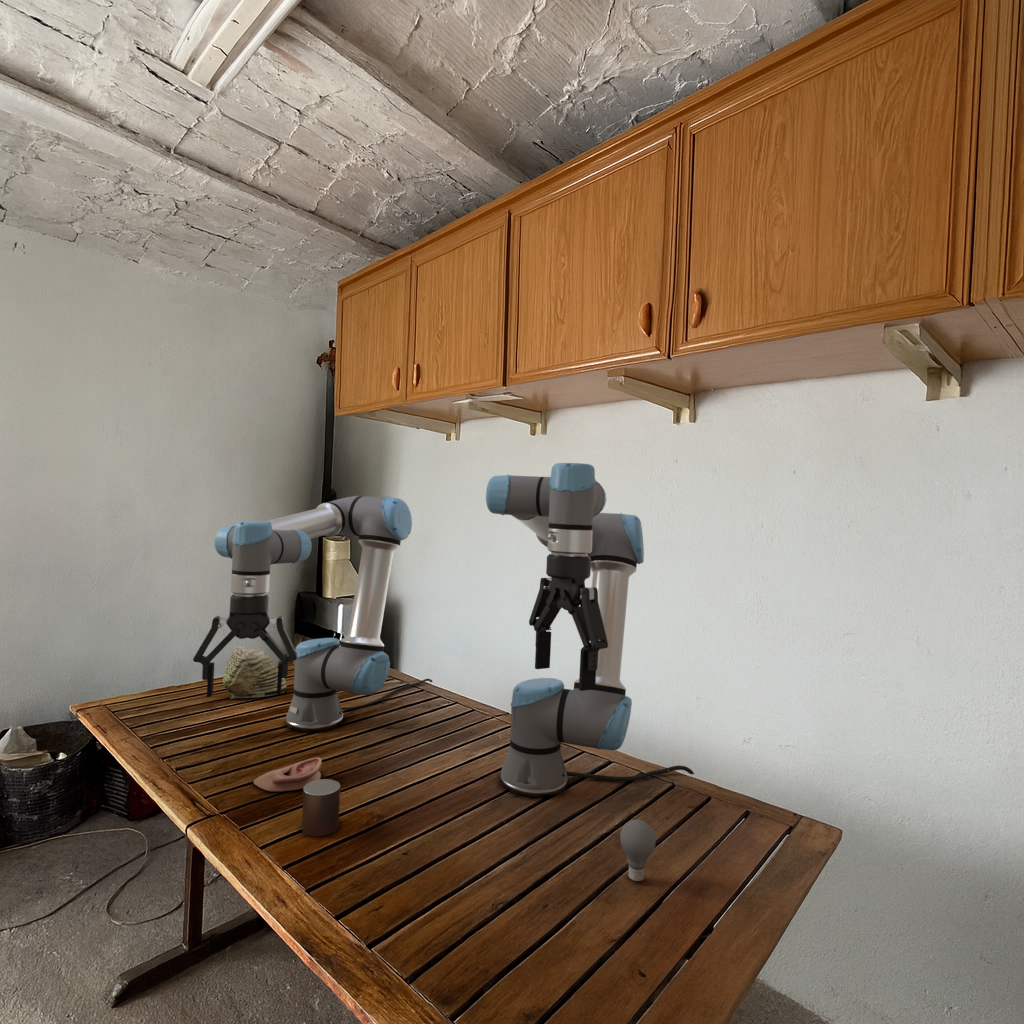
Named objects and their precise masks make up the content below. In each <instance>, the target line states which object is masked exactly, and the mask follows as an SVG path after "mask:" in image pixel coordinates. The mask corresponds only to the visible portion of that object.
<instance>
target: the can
mask: <svg viewBox="0 0 1024 1024" xmlns="http://www.w3.org/2000/svg"><path fill="white" fill-rule="evenodd" d="M302 789H303V791H302V817H301V832H302V833H303V834H304V835H305V836H309V837H313V838H314V837H316V838H317V837H325V836H329V835H331V834H333V833H335V832H337V830H338V829H339V826H340V801H341V784H340V782H338V781H337V780H334V779H330V778H329V779H328V778H320V779H319V780H315V781H312V782H309V783H308V784H306V785H305V786H304V788H302Z"/></svg>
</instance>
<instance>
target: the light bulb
mask: <svg viewBox="0 0 1024 1024" xmlns="http://www.w3.org/2000/svg"><path fill="white" fill-rule="evenodd" d="M619 840H620V845H621V847H622V850H623V851H624V854H625V856H626V862H627V864H628V875H627V876H628V878H629V879H631V880H632V881H634V882H641V881H643V880H644V876H645V867H646V866H647V861H648V859H649V858H650V856H651V855H652V853H653V852H654V850H655V847H656V843H657V839H656V834H655V831H654V830H653V828H652V827H651V825H649V823H648V822H646V821H645V820H642V819H631V820H629V821H627V822H626V823H625V824H624V825H623V827H622V828H621V830H620V835H619Z"/></svg>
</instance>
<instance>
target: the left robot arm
mask: <svg viewBox="0 0 1024 1024" xmlns="http://www.w3.org/2000/svg"><path fill="white" fill-rule="evenodd" d="M412 527H413V518H412V513H411V510H410V507H409V506H408V504H407V503H406V501H404V500H403V499H401V498H398V497H392V496H365V495H364V496H363V495H352V496H347V497H342V498H338V499H334V500H330V501H328V502H322V503H321V504H319V505H317V507H316V508H314V509H310V510H305V511H301V512H297V513H293V514H288V515H285V516H281V517H277V518H272V519H268V520H264V521H261V520H260V521H259V520H258V521H257V520H256V521H255V520H240V521H237V522H236V523H235V524H234V525H227V526H226V525H225V526H224V527H222V528H221V527H220V529H219V530H218V531H217V533H216V535H215V537H214V548H215V551H216V553H217V554H218V555H219V556H221V557H223V558H227V559H228V558H229V559H231V560H232V561H231V562H232V563H231V564H232V565H231V578H230V592H231V593H232V595H230V597H229V598H230V599H229V614H228V617H221V616H220V615H215V617H213V619H212V621H211V627H210V629H209V631H208V633H207V635H206V636H205V638H204V639H203V641H202V643H201V645H200V646H199V648H198V650H197V651H196V654H195V655H194V656H193V659H192V661H193V662H194V663H199V664H201V665H202V671H201V673H202V674H201V679H202V680H203V681H206V682H207V683H206V698H211V697H212V696H213V694H214V683H215V682H214V679H215V662H214V661H213V660H214V658H216V657H217V656H218V654H220V652H221V651H222V650H223V649H224V648H225V647H226V646H227V645H228V644H229V643H230V642H231V641H232V640H233V639H234V638H235V637H236V638H238V639H240V640H244V639H250V640H256V639H257V638H258V637H259V638H260V639H261V641H262V642H264V643H265V644H266V645H267V647H268V648H269V649H270V650H271V651H272V653H274V655H275V656H276V657H277V658H278V660H279V661H278V663H277V668H278V679H277V694H276V695H277V696H280V695H281V694H282V693H281V688H282V678H285V679H287V677H288V675H289V664H290V662H294V663H293V664H294V668H293V695H292V696H293V697H292V699H291V702H290V704H289V708H288V711H287V713H286V715H285V726H286V728H287V729H289V730H291V731H294V732H295V731H296V732H301V733H316V732H325V731H329V730H332V729H335V728H337V727H339V726H340V725H342V723H343V722H344V713H343V711H351V710H356V709H362V708H364V707H368V706H371V705H374V704H376V703H378V702H381V701H383V700H384V699H386V698H388V697H389V696H391V695H393V694H394V693H397V692H399V691H401V690H405V689H407V688H411V687H416V686H418V685H421V684H423V683H426V682H429V683H433V682H434V681H433V680H432V679H430V678H425V679H422V680H421V681H418V682H415V683H411V684H407V685H404V686H400V687H399V688H396V689H394V690H392V691H390V692H388V693H386V694H384V695H383V696H381V697H379V698H377V699H375V700H373V701H370V702H367V703H363V704H360V705H354V706H341V702H340V699H339V695H338V691H340V692H344V693H351V694H354V695H356V696H359V695H362V696H372V695H374V694H376V693H377V692H379V691H380V690H381V688H382V687H383V686H384V684H385V683H386V681H387V679H388V675H389V674H390V669H391V661H390V656H389V655H388V654H387V653H386V652H384V649H385V644H384V643H383V641H382V639H381V633H382V627H383V620H384V613H385V608H386V602H387V595H388V589H389V582H390V578H391V577H390V576H391V571H392V564H393V558H394V553H395V552H396V551H397V550H398V549H400V548H401V542H402V541H404V540H406V539H408V538H409V535H410V534H411V533H412ZM322 536H324V537H327V538H332V537H336V536H351V537H358V539H357V542H358V543H359V545H360V546H361V548H362V549H361V556H360V563H359V568H358V572H357V573H358V574H357V579H356V586H355V591H354V596H353V597H354V598H353V603H352V608H351V615H350V620H349V627H348V632H347V634H346V636H344V637H343V638H342V639H341V640H339V638H336V637H321V638H313V639H307V640H304V641H302V642H299V643H298V644H297V645H296V647H295V646H294V644H293V642H292V640H291V638H290V636H289V633H288V632H287V630H286V628H285V626H284V617H283V616H282V615H278V616H277V617H270V616H269V601H270V600H269V598H270V597H269V595H268V593H269V592H270V583H271V582H270V581H271V579H270V578H271V565H279V564H296V563H301V562H304V561H305V560H307V559H308V558H309V556H310V555H311V552H312V546H313V545H312V539H316V538H319V537H322ZM270 624H271V625H272V627H273V628H276V631H277V632H278V635H279V636H280V637H279V638H280V639H281V641H282V643H283V645H284V647H285V649H286V652H287V653H286V652H285V651H284V650H283V649H282V647H281V646H280V645H279V644H278V642H276V641H275V639H274V638H273V637H272V636H271V635H270V633H269V632H268V630H267V627H268V626H269V625H270ZM224 625H226V626H227V627H228V628H229V630H230V632H229V633H227V635H225V637H224V638H223V639H222V640H221V641H220V642H219V643H218V644H216V646H215V647H214V648H213V649H212V650H211V651H210V652H209V653H208V654H207V655H204V654H205V653H206V651H207V649H208V648H209V646H210V644H211V642H212V641H213V639H214V637H215V635H216V634H217V632H218V630H219V629H221V628H222V627H223V626H224ZM212 661H213V662H212Z"/></svg>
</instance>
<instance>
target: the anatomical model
mask: <svg viewBox="0 0 1024 1024" xmlns="http://www.w3.org/2000/svg"><path fill="white" fill-rule="evenodd" d="M322 762H323V761H322V758H321V757H312V758H308V759H305V760H301V761H299V762H296V763H293V764H290V765H287V766H285V767H281V768H278V769H273V770H271V771H268V772H265V773H264V774H262V775H259V776H258V777H257V778H255V779H254V780H253V784H254V785H255V786H257V787H258V788H259V789H262V790H263V791H264V790H265V791H267V792H289V791H297V790H301V789H303V788H304V786H305V785H306V784H308V783H309V782H312V781H315V780H320V779H321V777H322V774H321V772H320V771H319V770H320V769H321V767H322Z"/></svg>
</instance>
